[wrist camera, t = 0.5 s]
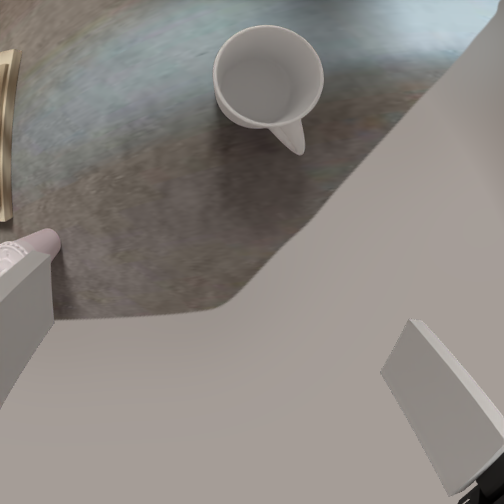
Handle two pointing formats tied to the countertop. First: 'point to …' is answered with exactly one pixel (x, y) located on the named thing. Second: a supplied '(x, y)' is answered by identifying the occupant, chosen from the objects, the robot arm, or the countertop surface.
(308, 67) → the mug
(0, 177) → the beige flat board
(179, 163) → the countertop surface
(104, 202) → the countertop surface
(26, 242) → the smoothie
